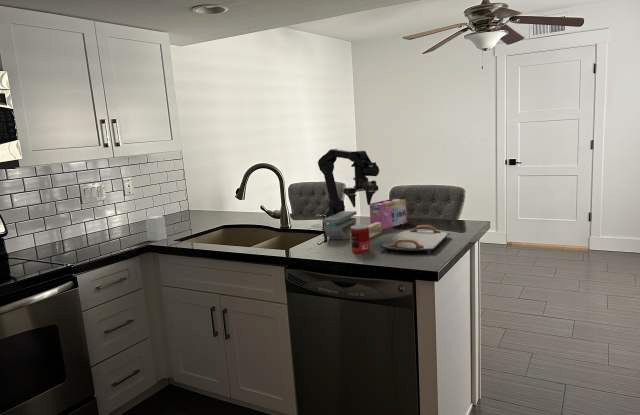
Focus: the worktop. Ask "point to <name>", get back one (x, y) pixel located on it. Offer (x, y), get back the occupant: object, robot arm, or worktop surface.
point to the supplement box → (156, 228)
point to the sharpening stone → (340, 225)
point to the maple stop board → (373, 229)
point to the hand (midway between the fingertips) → (361, 206)
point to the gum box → (389, 212)
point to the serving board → (416, 240)
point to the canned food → (360, 238)
